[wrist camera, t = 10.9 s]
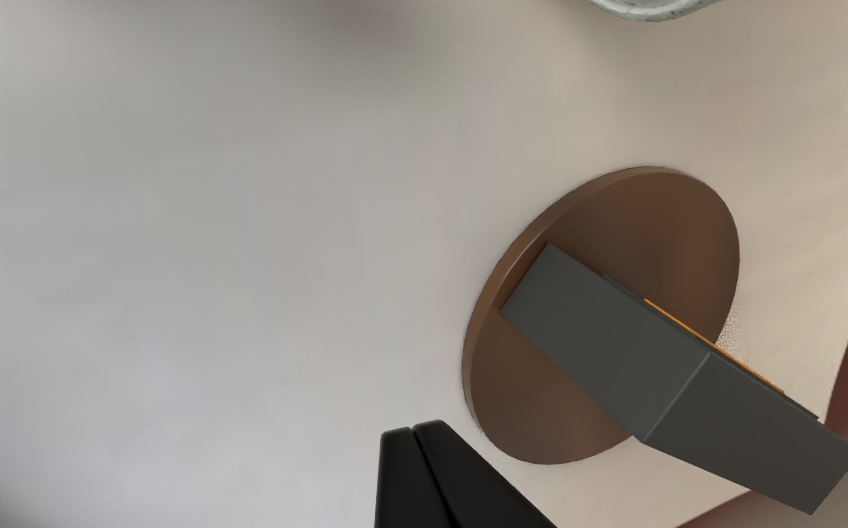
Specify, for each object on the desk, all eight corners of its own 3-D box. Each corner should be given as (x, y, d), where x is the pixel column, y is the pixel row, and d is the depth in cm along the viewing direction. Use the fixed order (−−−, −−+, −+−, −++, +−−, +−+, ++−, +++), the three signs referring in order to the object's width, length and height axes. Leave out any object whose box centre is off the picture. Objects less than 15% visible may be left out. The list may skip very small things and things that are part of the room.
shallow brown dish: (558, 496, 31) (567, 507, 31) (394, 357, 23) (403, 368, 23) (758, 297, 32) (771, 304, 31) (665, 90, 24) (679, 95, 23)
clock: (669, 401, 31) (811, 516, 25) (498, 312, 23) (641, 444, 18) (712, 344, 30) (867, 447, 24) (551, 235, 23) (716, 345, 17)
